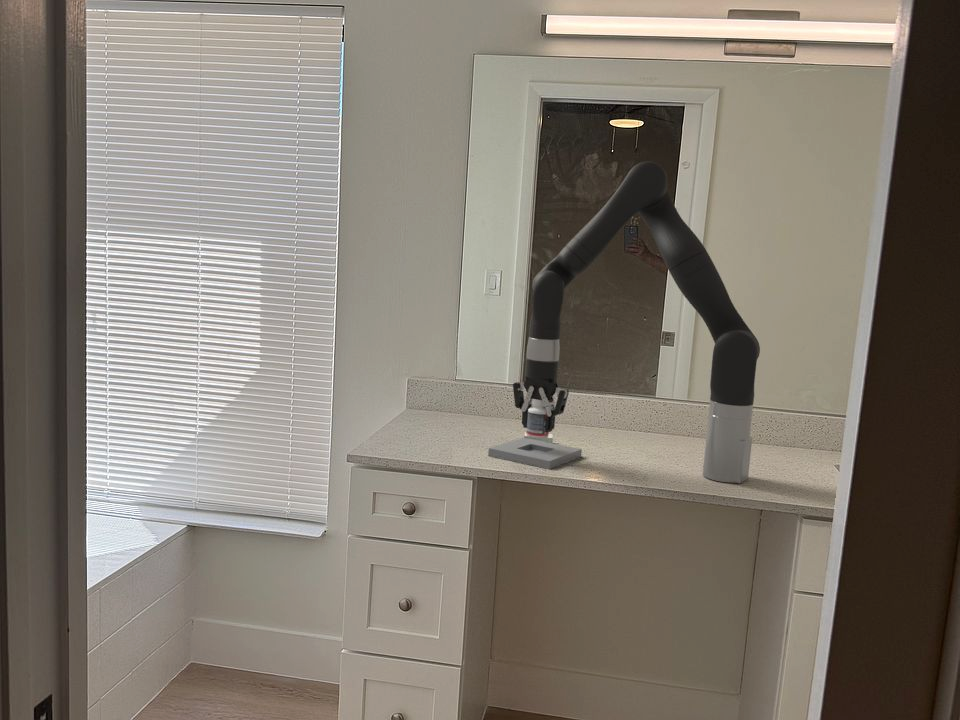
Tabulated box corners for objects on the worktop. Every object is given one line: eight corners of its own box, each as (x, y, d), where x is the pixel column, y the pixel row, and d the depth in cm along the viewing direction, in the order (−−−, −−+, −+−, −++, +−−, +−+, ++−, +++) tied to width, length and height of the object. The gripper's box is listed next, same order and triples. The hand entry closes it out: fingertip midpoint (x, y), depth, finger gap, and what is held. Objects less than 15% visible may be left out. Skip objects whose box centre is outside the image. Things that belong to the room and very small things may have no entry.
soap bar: (551, 443, 216) (552, 434, 216) (552, 448, 212) (552, 438, 211) (524, 441, 216) (524, 432, 216) (523, 445, 212) (524, 436, 212)
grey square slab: (581, 456, 203) (581, 449, 203) (548, 469, 190) (549, 461, 190) (523, 444, 212) (523, 437, 211) (488, 455, 198) (488, 448, 198)
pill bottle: (546, 439, 197) (549, 402, 196) (524, 437, 198) (527, 399, 197) (549, 435, 202) (552, 398, 201) (527, 432, 203) (530, 395, 202)
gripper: (577, 360, 197) (572, 432, 199) (524, 352, 205) (519, 422, 207) (562, 362, 191) (557, 437, 193) (507, 355, 198) (502, 426, 201)
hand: (537, 429), depth 200 cm, fingers closed on pill bottle, 5 cm apart
